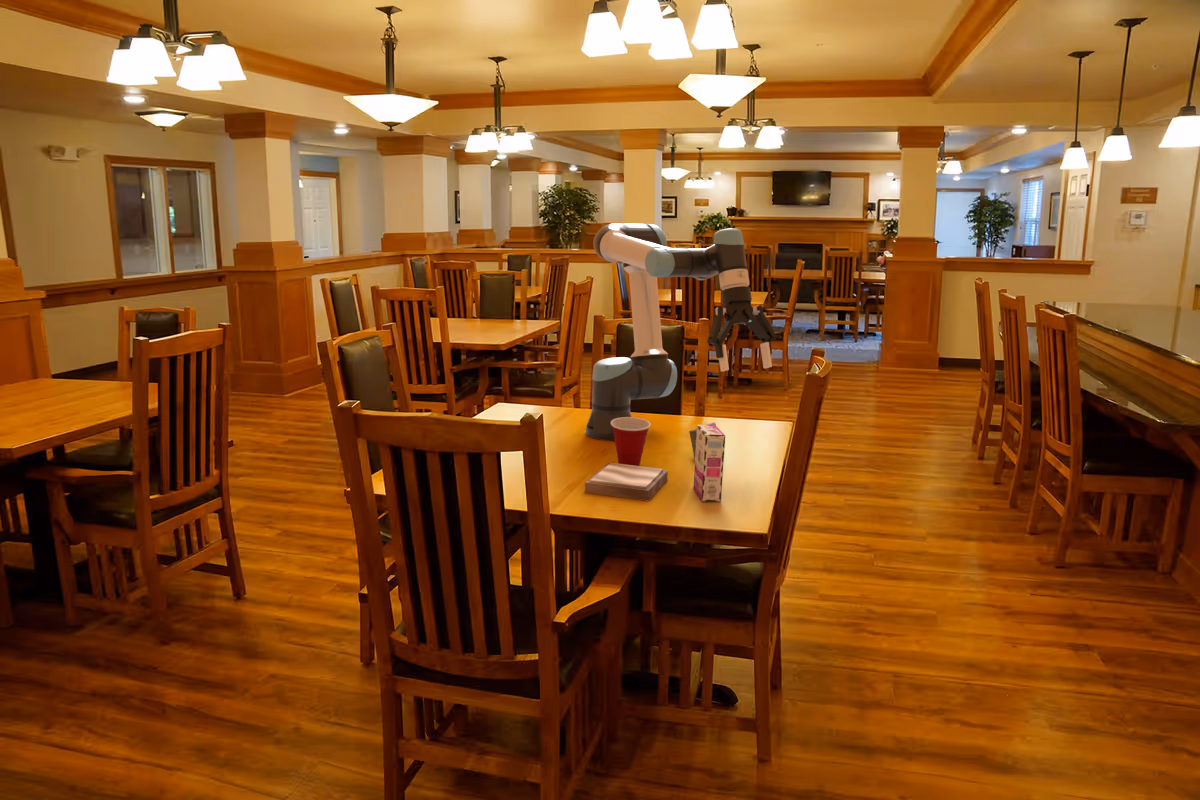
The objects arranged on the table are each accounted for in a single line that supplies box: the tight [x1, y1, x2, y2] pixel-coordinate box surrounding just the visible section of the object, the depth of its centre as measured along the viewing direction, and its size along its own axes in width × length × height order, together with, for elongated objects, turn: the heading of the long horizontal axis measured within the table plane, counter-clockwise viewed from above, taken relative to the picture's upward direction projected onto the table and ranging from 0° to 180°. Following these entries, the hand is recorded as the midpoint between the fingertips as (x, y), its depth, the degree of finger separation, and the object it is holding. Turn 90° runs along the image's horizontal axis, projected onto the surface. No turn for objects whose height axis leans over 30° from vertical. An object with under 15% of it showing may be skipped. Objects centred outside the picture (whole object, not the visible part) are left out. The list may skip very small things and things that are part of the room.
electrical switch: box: [688, 422, 717, 457], centre depth 240 cm, size 9×5×9 cm, turn 141°
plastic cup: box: [611, 416, 651, 466], centre depth 229 cm, size 11×11×12 cm
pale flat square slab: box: [584, 462, 669, 501], centre depth 211 cm, size 18×16×3 cm
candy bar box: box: [692, 424, 726, 503], centre depth 205 cm, size 11×5×16 cm, turn 5°
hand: (746, 369), depth 219 cm, fingers open, 13 cm apart
